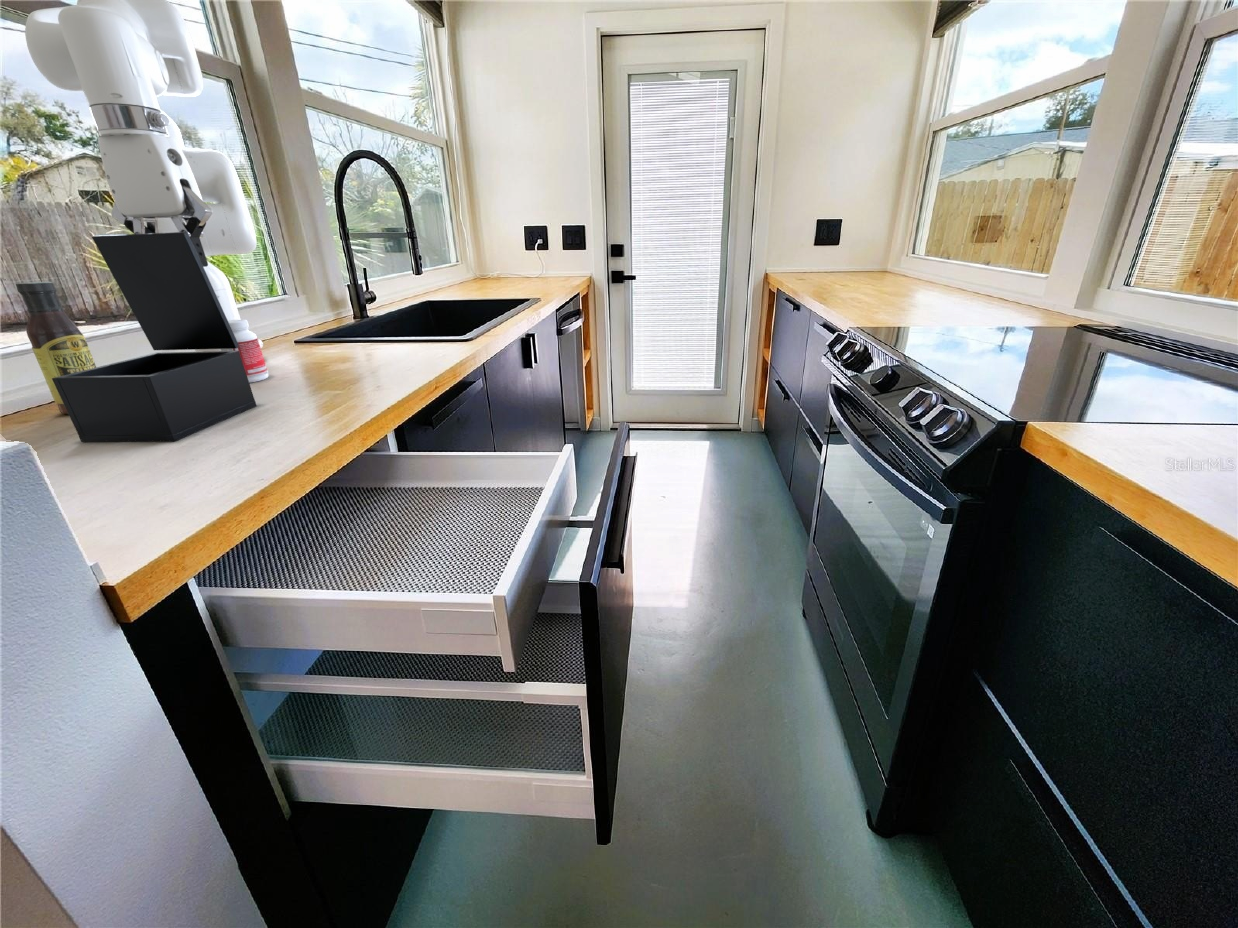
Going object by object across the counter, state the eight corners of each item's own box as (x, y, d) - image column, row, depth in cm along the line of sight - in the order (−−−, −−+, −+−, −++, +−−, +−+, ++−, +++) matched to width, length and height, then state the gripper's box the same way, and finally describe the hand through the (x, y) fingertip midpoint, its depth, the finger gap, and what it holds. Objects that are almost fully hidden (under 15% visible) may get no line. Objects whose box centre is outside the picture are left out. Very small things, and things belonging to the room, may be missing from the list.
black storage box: (175, 441, 72) (149, 376, 68) (81, 442, 73) (51, 378, 69) (256, 405, 86) (239, 350, 82) (177, 406, 87) (156, 352, 84)
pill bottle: (272, 374, 106) (255, 317, 102) (265, 381, 101) (247, 321, 97) (236, 378, 104) (217, 320, 100) (227, 385, 99) (207, 325, 95)
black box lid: (183, 232, 73) (210, 226, 77) (91, 236, 74) (122, 229, 78) (236, 348, 82) (258, 337, 86) (153, 350, 83) (178, 338, 87)
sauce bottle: (80, 416, 84) (19, 284, 76) (50, 415, 85) (-13, 284, 77) (123, 404, 90) (71, 280, 82) (94, 403, 91) (40, 280, 83)
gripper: (211, 127, 76) (251, 264, 83) (102, 134, 77) (150, 268, 84) (165, 117, 69) (213, 267, 76) (46, 125, 70) (104, 271, 77)
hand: (180, 266), depth 80 cm, fingers closed on black box lid, 5 cm apart
